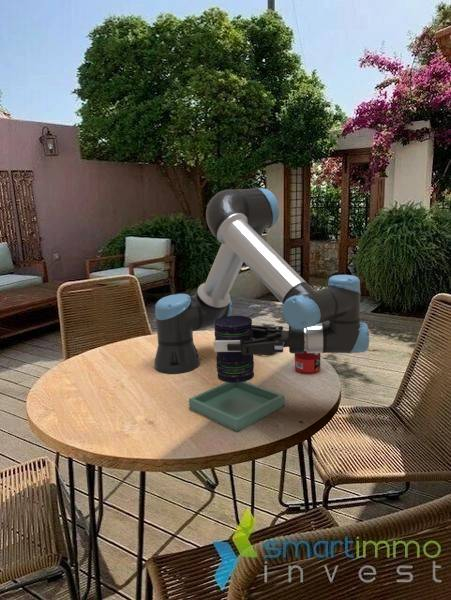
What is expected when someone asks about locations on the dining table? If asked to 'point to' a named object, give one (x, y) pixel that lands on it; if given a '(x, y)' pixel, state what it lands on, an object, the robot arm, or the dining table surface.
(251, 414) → the tray
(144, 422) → the dining table surface
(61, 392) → the dining table surface
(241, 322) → the dark blue ribbed cylinder
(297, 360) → the canned food
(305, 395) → the dining table surface
